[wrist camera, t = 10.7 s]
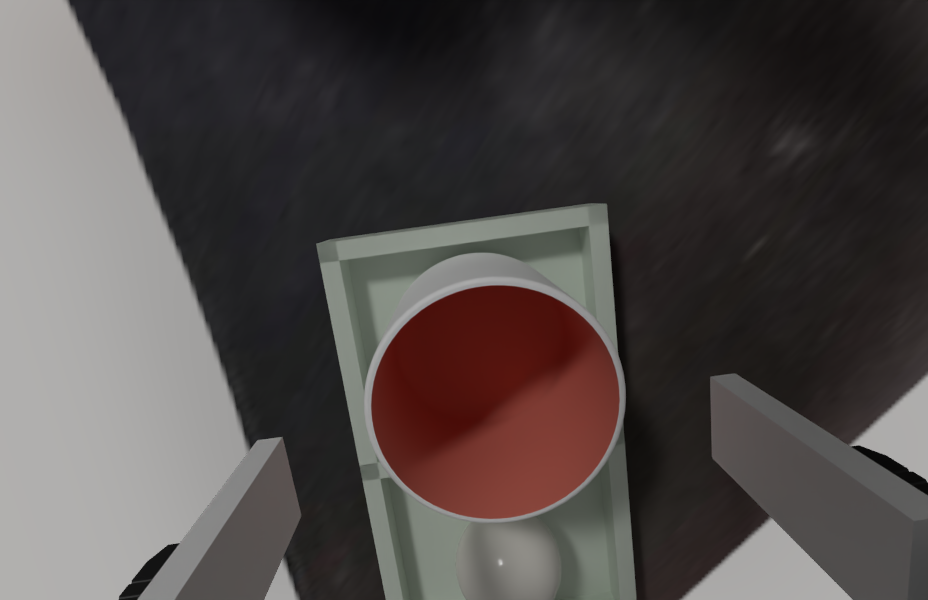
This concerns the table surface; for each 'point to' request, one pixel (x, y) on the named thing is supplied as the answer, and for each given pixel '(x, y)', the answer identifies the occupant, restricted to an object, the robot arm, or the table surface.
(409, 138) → the table surface
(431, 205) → the table surface
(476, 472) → the cup
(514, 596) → the egg
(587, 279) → the holder
